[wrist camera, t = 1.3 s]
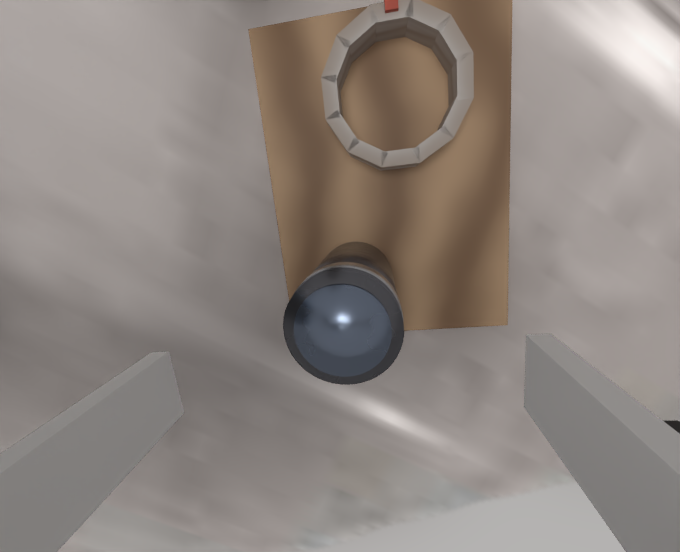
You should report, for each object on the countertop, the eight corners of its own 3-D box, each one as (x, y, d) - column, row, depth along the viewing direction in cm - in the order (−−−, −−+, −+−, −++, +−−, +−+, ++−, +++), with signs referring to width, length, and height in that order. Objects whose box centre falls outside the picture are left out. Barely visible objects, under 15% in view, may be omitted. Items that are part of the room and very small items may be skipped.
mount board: (298, 329, 29) (285, 351, 25) (256, 39, 24) (231, 6, 20) (500, 318, 27) (523, 339, 23) (503, -7, 22) (533, -55, 18)
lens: (324, 314, 27) (290, 389, 16) (315, 244, 26) (272, 276, 15) (395, 309, 26) (409, 386, 16) (390, 237, 25) (401, 266, 14)
